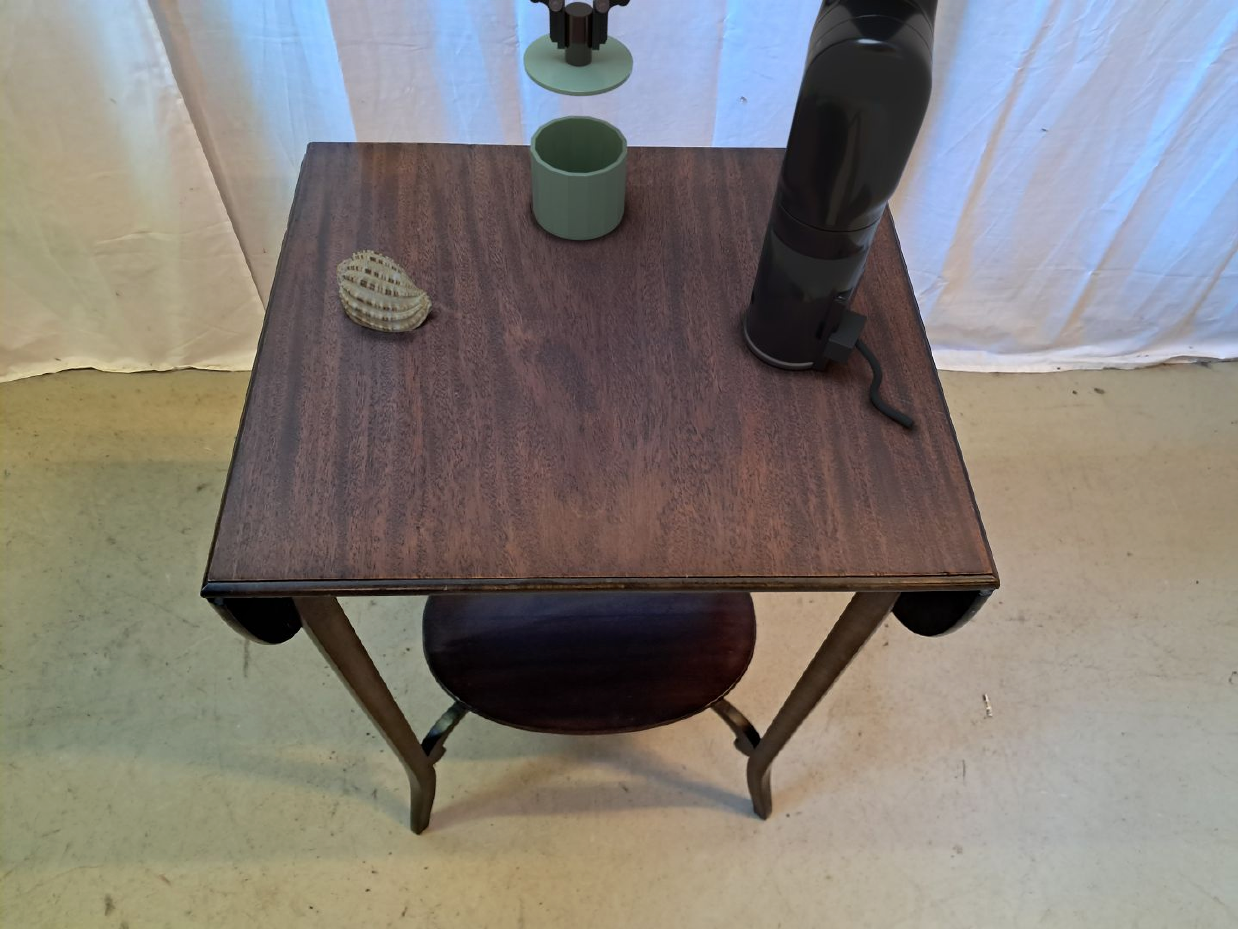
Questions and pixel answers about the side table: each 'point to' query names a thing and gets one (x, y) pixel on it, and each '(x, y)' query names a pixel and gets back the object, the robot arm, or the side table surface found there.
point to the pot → (578, 176)
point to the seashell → (381, 293)
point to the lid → (578, 58)
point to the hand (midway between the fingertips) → (578, 44)
